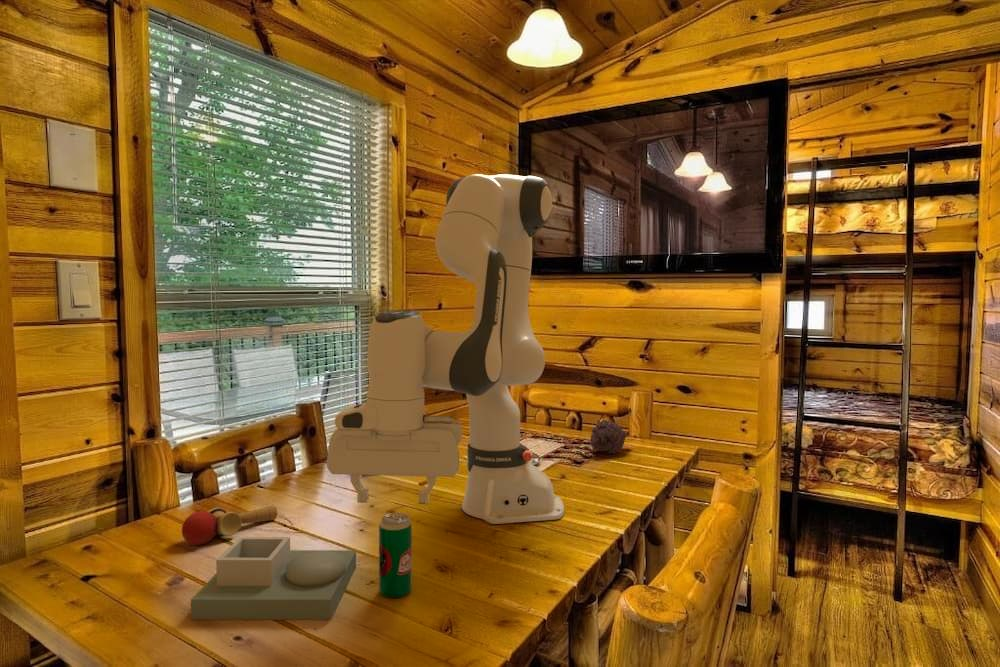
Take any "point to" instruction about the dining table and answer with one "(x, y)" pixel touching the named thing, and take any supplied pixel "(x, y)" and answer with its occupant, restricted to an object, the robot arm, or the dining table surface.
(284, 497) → the dining table surface
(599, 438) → the pine cone
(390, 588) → the soda can
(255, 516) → the kendama
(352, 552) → the grey desk organizer tray
